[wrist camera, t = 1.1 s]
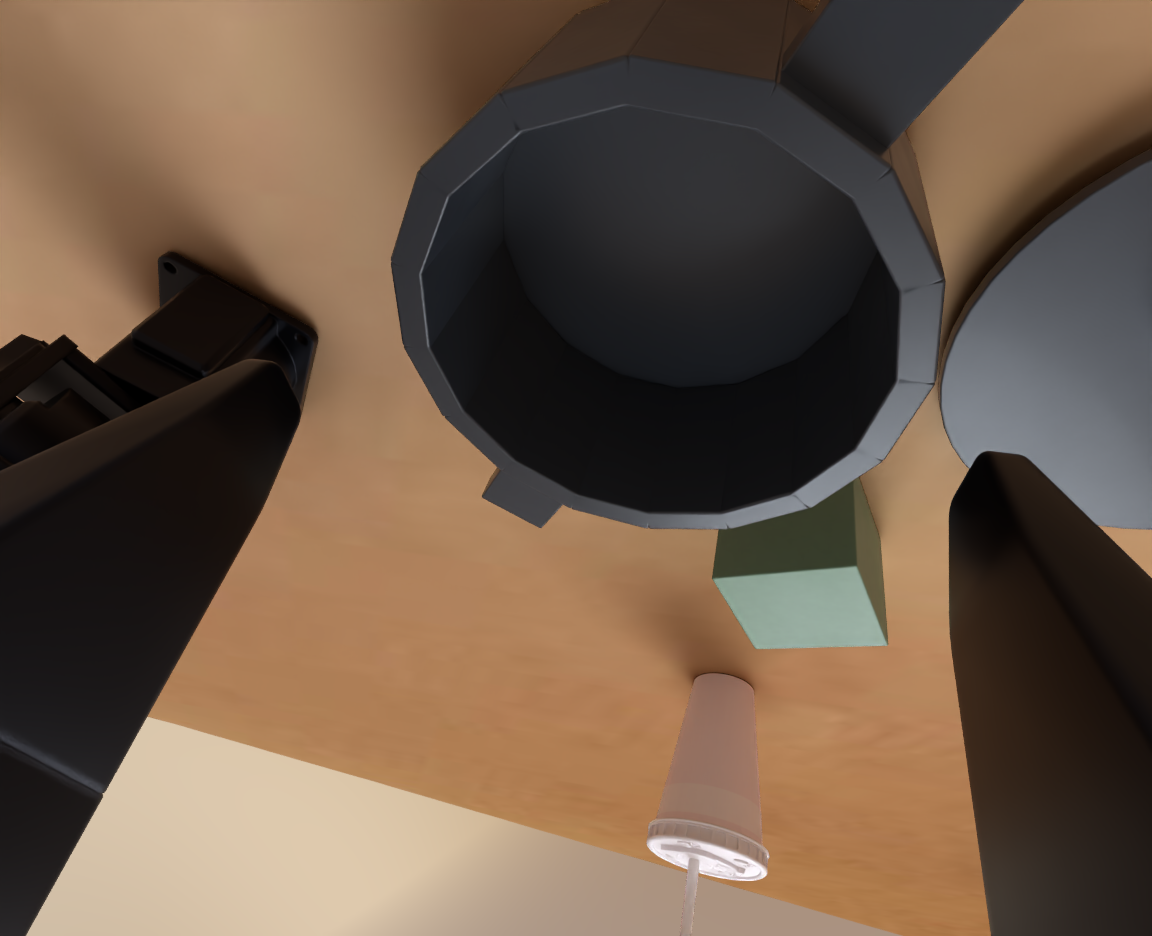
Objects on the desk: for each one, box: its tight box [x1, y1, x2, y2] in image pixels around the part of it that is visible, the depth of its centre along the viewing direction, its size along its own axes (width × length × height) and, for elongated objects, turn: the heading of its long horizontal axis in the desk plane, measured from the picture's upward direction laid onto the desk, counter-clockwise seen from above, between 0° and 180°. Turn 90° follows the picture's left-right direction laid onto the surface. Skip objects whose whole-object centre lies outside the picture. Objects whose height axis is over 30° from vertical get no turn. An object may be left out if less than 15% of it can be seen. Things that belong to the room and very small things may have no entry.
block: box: [712, 477, 888, 649], centre depth 25 cm, size 5×5×5 cm
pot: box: [391, 0, 1024, 529], centre depth 17 cm, size 13×18×6 cm
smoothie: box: [647, 673, 770, 936], centre depth 35 cm, size 6×6×14 cm
